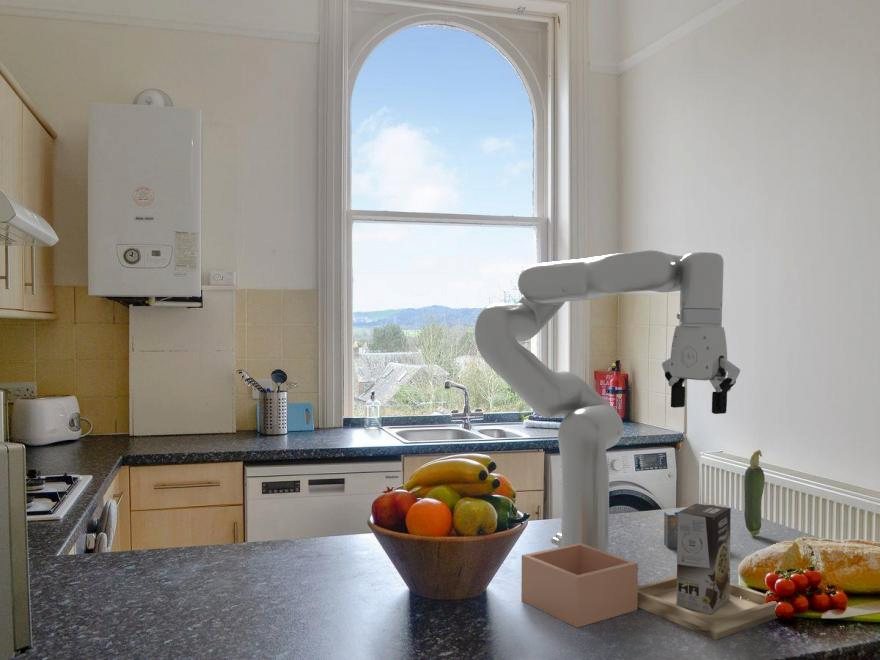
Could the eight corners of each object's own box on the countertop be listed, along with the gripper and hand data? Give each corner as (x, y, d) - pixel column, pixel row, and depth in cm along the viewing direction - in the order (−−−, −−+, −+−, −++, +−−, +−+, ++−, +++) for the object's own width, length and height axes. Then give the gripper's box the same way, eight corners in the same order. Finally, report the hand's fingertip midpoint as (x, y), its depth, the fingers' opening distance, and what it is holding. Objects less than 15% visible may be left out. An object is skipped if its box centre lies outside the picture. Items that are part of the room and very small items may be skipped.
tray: (628, 603, 130) (628, 588, 130) (695, 584, 140) (695, 570, 140) (716, 639, 115) (716, 623, 115) (784, 615, 125) (784, 600, 125)
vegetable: (739, 533, 175) (740, 448, 175) (754, 531, 176) (755, 447, 176) (752, 538, 171) (753, 451, 170) (768, 537, 172) (769, 450, 172)
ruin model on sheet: (734, 538, 172) (734, 496, 172) (764, 560, 156) (764, 514, 156) (625, 537, 173) (626, 495, 173) (644, 559, 156) (644, 513, 156)
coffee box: (713, 615, 122) (714, 517, 122) (675, 606, 126) (675, 511, 126) (731, 600, 129) (732, 507, 129) (694, 591, 133) (695, 501, 133)
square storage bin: (521, 600, 131) (521, 555, 131) (579, 585, 139) (580, 542, 139) (577, 627, 120) (577, 577, 120) (637, 609, 127) (637, 563, 127)
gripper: (651, 318, 145) (649, 405, 146) (725, 319, 130) (722, 417, 130) (678, 318, 149) (676, 404, 149) (753, 320, 134) (750, 415, 134)
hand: (697, 410), depth 140 cm, fingers open, 9 cm apart
